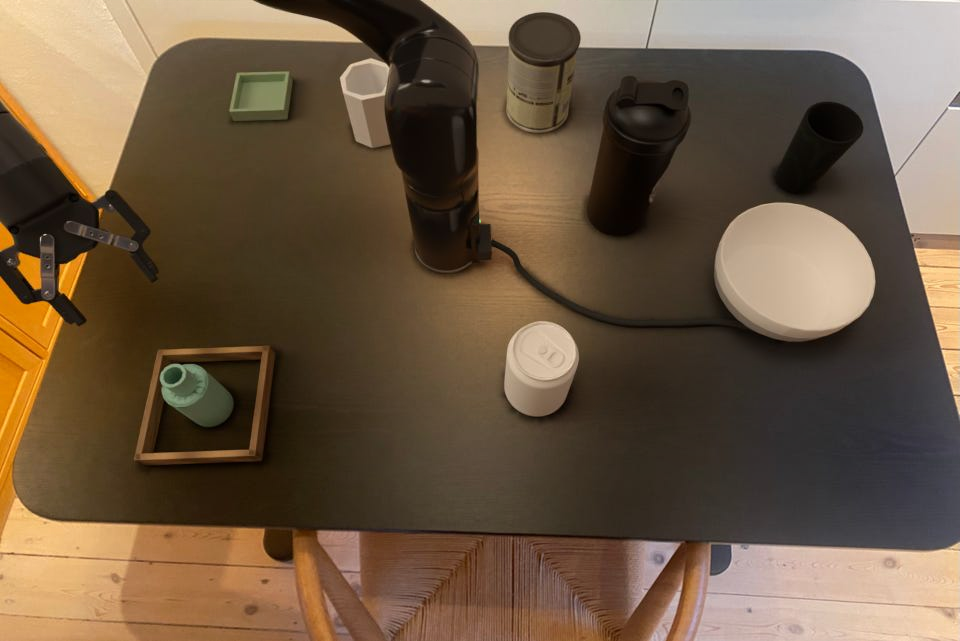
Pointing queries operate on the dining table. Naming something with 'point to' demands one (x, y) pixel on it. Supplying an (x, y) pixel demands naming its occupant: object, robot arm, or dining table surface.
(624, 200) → the water bottle
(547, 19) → the coffee can
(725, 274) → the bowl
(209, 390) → the bottle
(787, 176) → the cup
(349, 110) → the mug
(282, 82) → the tray
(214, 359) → the wooden square frame
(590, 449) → the dining table surface
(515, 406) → the beverage can
